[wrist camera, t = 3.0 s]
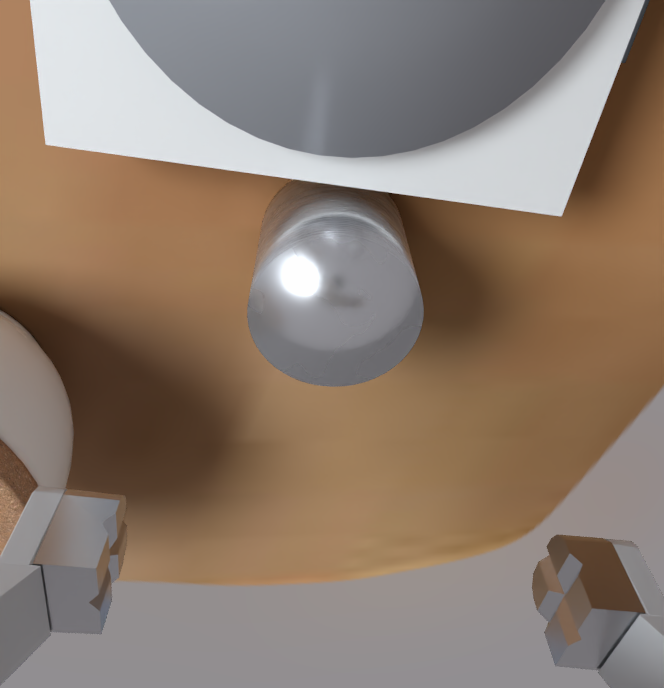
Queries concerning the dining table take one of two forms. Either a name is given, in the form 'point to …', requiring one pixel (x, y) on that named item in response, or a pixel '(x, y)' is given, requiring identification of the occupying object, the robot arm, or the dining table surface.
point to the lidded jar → (29, 423)
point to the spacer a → (333, 285)
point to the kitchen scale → (341, 89)
